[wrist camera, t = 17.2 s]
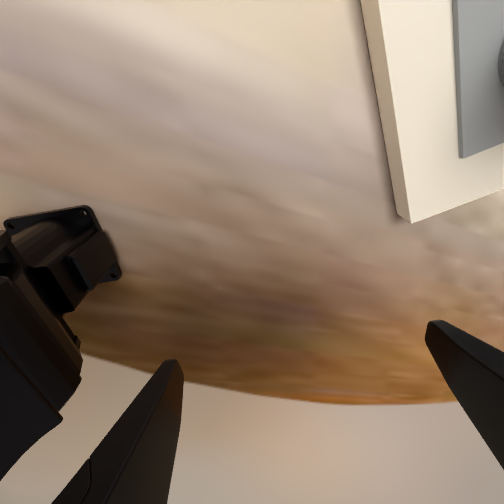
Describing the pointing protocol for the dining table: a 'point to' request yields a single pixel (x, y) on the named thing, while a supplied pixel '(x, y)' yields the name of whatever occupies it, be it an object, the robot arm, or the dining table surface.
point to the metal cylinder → (501, 64)
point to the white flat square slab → (438, 99)
